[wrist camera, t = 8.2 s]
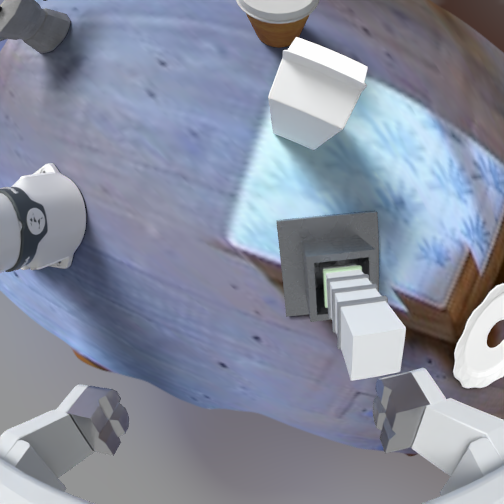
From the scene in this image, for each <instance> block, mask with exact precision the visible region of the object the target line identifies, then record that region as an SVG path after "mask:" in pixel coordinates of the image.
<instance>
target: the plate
mask: <svg viewBox="0 0 504 504" xmlns="http://www.w3.org/2000/svg"><path fill="white" fill-rule="evenodd" d="M500 320H504V283H502V284H499V285H496V286H495V287H494V288H493V289H492V290H490V291H489V293H488V294H487V296H486V297H485V298H484V300H483V301H482V303H481V304H480V305H478V306H477V307H476V308H475V309H474V310H473V312H472V313H471V315H470V316H469V318H468V320H467V322H466V325H465V328H464V331H463V333H462V335H461V336H460V338H459V340H458V342H457V343H456V347H455V350H454V359H455V362H454V367H453V374H454V377H455V378H456V379H457V380H459V381H460V383H461V385H462V387H464V388H467V389H468V388H474V387H476V388H483V387H486V386H488V385H489V384H491V383H492V382H494V381H495V380H497V379H499V378H501V377H503V376H504V340H503V341H502V342H501V343H500V344H499V345H498V346H497V347H494V348H489V347H488V346H487V336H488V333H489V331H490V330H491V328H492V327H493V325H494V324H495V323H497V322H498V321H500Z"/></svg>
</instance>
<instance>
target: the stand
mask: <svg viewBox="0 0 504 504" xmlns="http://www.w3.org/2000/svg"><path fill="white" fill-rule="evenodd" d="M277 230H278V239H279V248H280V257H281V267H282V277H283V286H284V297H285V307H286V317H287V316H297V315H307V314H309V316H310V321H311V322H314V321H323V320H331V319H329V317H328V307H327V308H325V304H324V282H323V267H330V266H339V265H348V264H356V265H357V266H358V265H360V266H361V267H362V272H363V273H364V274H368V275H369V281H370V282H371V283H372V284H376V285H377V286H378V287H377V291H378V292H379V242H378V217H377V212H376V211H370V212H359V213H347V214H336V215H325V216H315V217H305V218H295V219H285V220H277Z"/></svg>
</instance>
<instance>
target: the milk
mask: <svg viewBox="0 0 504 504" xmlns="http://www.w3.org/2000/svg"><path fill="white" fill-rule="evenodd" d="M367 68H368V67H367V66H365V65H363V64H361V63H359V62H357V61H354V60H352V59H350V58H348V57H346V56H344V55H341V54H339V53H337V52H334V51H332V50H330V49H327V48H325V47H322V46H320V45H317V44H315V43H312V42H310V41H307V40H304V39H301V38H299V37H296V38H295V39H294V41H293V42H292V44H291V45H290V47H289V48H288V50H283V58H282V61H281V63H280V66H279V69H278V71H277V74H276V77H275V80H274V82H273V85H272V88H271V91H270V93H269V96H268V99H269V106H270V113H271V120H272V128H273V133H274V134H276V135H279V136H281V137H283V138H286V139H288V140H291V141H293V142H295V143H298V144H300V145H302V146H305V147H307V148H309V149H312V150H315V149H316V148H318V147H319V146H320V145H322V144H323V143H325V142H326V141H327V140H329V139H330V138H331V137H333V136H334V135H336V134H337V133H338V132H340V131H341V130H343V129H344V127H345V125H346V123H347V121H348V119H349V117H350V115H351V113H352V111H353V109H354V107H355V105H356V103H357V101H358V99H359V97H360V94H361V92H362V91H363V90H364V89H365V88H366V87H367V85H366V84H365V83H364V81H365V77H366V73H367Z"/></svg>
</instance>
